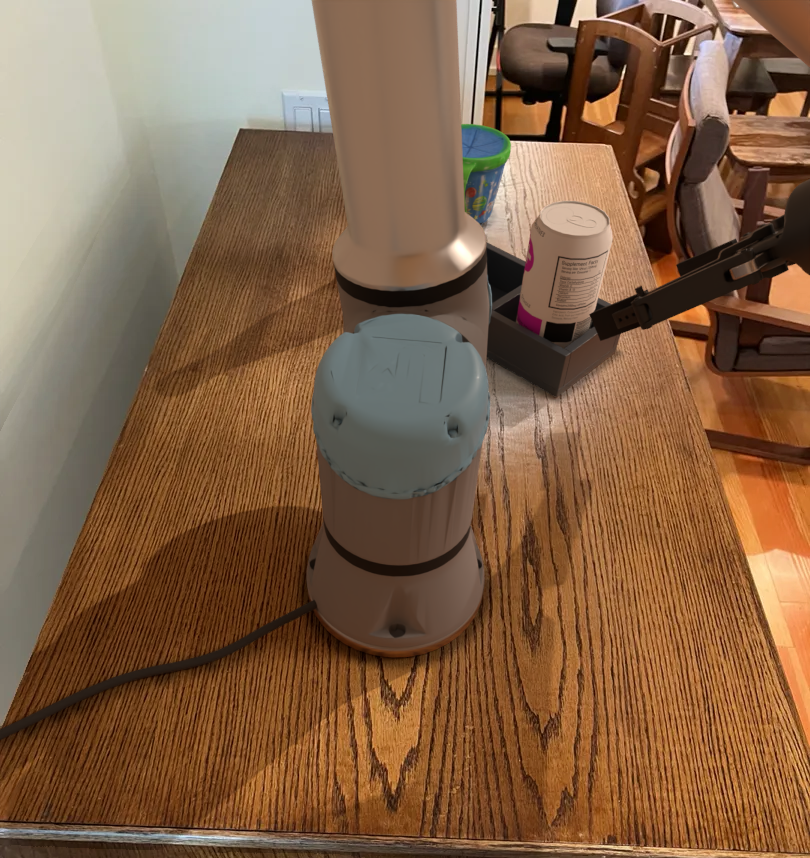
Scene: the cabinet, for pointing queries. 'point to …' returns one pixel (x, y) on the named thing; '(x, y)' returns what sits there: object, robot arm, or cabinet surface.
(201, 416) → the cabinet surface
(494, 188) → the snack cup
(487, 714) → the cabinet surface
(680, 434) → the cabinet surface
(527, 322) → the supplement can
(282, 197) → the cabinet surface
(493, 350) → the divided box
